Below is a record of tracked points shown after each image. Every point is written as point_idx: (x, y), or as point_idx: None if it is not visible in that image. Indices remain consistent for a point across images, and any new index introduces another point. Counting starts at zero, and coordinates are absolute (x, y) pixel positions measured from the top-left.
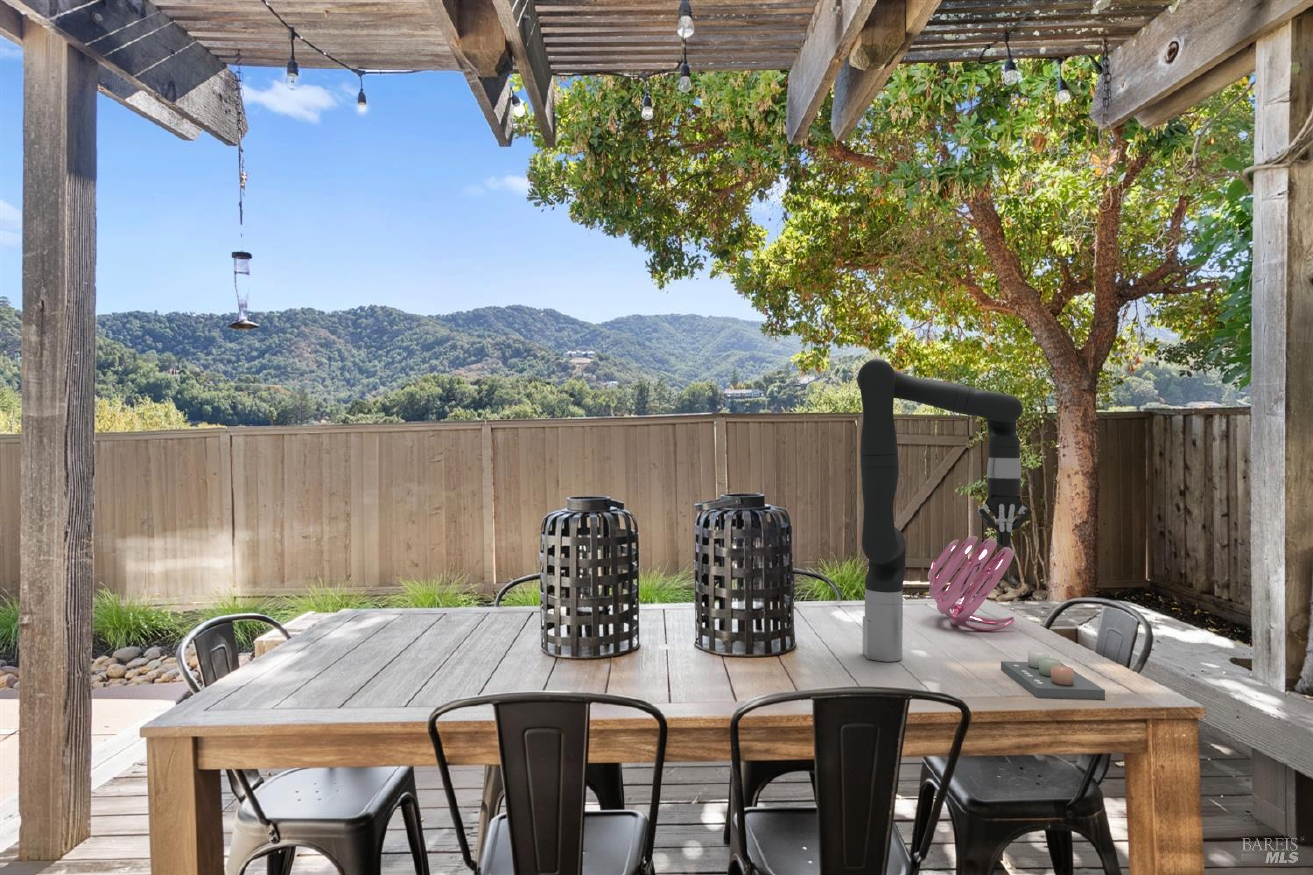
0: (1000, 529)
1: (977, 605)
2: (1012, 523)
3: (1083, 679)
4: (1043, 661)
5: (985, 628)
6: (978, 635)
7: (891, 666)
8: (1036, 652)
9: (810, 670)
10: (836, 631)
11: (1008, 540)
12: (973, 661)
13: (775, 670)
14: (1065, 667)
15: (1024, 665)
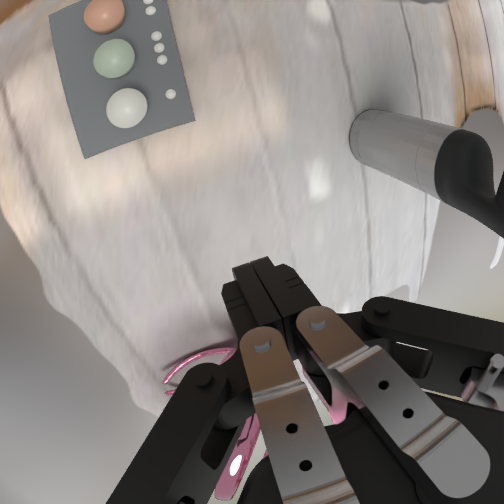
0: (328, 316)
1: (227, 357)
2: (236, 430)
3: (64, 60)
4: (128, 43)
5: (203, 352)
6: (213, 328)
7: (366, 88)
8: (129, 111)
9: (443, 60)
10: (402, 256)
11: (238, 298)
12: (236, 157)
13: (466, 59)
14: (95, 19)
15: (153, 106)
